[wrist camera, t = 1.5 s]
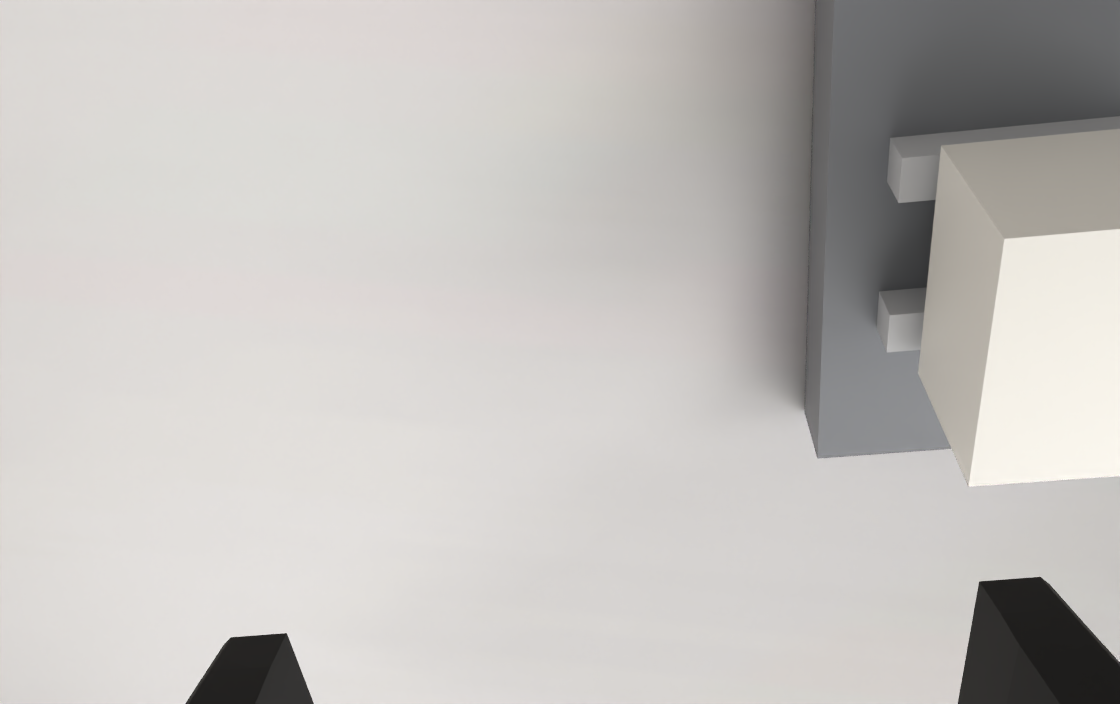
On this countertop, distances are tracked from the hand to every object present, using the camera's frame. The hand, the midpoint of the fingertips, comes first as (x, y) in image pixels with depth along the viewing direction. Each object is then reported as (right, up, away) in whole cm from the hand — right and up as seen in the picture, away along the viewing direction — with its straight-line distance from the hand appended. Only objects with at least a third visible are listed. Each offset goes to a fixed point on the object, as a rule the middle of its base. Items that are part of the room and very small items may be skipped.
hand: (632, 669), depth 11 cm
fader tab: (+7, +5, +7) cm, 12 cm away
